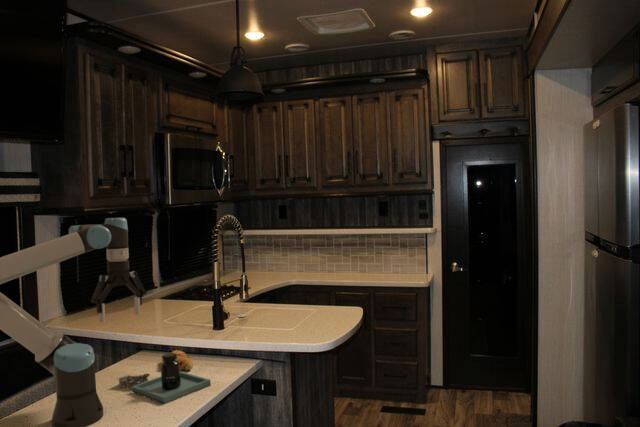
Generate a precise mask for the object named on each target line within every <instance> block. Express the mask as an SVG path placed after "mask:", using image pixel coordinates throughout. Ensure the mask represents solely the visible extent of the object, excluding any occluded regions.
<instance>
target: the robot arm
mask: <svg viewBox="0 0 640 427" xmlns="http://www.w3.org/2000/svg"><path fill="white" fill-rule="evenodd" d="M128 228H129V227H128V220H127V218H125V217H108V218H105V219H104V223H101V224H98V223H97V224H79V225H71V226H70V227H69V228H68V234H66V235H62V236H59V237H56V238H54V239H50V240H48V241H45V242H42V243H38V244H36V245H33V246H31V247H27V248H23V249H21V250H18V251H15V252H13V253H9V254H7V255H3V256H1V257H0V285H2V284H5V283H7V282H10V281H12V280H15V279H18V278H20V277H23V276H26V275H28V274H31V273H34V272H37V271H40V270H42V269H45V268H47V267H48V268H49V267H50V266H52V265H53V266H54V265H56V264H58V263H61V262H63V261H66V260H68V259H71V258H74V257H77V256H79V255H82V254H85V253H88V252H91V251H94V250H100V249H104V248H106V250H105V251H106V260H107V262H106V270H107V275H101V274H100V275H99V276H98V282H97V285H96V287H95V289H94V292H93V295H92V297H91V299H90V303H92V304H96V313H97V314H98V317H99V322H101V323H106V306H105V304H106V303H104V301H105V300H106V298H107V296H108V295H109V294H110V292H111V291H112V289H113V288H115V287H120V286H126V288H128V289H129V291H131V292H132V293H133V295H135V296H134V298H133V300H134V301H133V302H134V303H133V304H134V315H137V316H141V314H142V313H141V306H143V305H142V304H143V298H144V295H147V291H146V289H145V287H144V285H143V283H142V282H141V280H140V278H139V273H138V271H135V270H131V271H130V260H129V258H130V257H129V256H130V254H129V229H128ZM130 278H132V280H133V283H134V284H135V285H134V284H133V283H132V282H131V280H130ZM107 281H108V282H107ZM106 282H107V284H106ZM105 284H106V286H105ZM0 330H1V332H3V333H4V334H6V335H8V336H9V337H11V339H13V340H14V341H16V342H17V343H19V344H20V346H21V345H22V346H23V347H24V348H25V349H26V350H28V351H30V352H31V353H32V354H34V360H35V362H36V363H37V364H39V365H40V366H41V367H43V368H44V369H46V370H47V371H48V372H50V373H51V374H52V376H53V377H54V380H55V393H56V401H55V402H56V403H55V404H54V409H53V412H52V416H51V426H52V427H86V426H90V425H92V424H95V423H96V422H98V421H100V420H101V419H102V418H103V417H104V415H105V413H104V407H103V404H102V401H101V399H100V397H99V396H98V393H97V382H96V379H97V378H96V367H95V359H96V358H95V357H96V356H95V353H94V348H93V347H92V346H91V345H89V344H87V343H80V342H79V343H78V342H76V341H74V340H72V339H71V338H69V337H68V336H66V335H65V334H64V333H63V332H57V333H56V332H55V333H54V332H53V331H52V330H51V329H50V328H48V327H47V326H46V325H44V324H43V323H41V322H40V321H39V320H37V319H36V318H35V316H32V315H31V314H30V313H28V312H27V311H26V310H25V309H23V308H22V307H21V306H19V305H18V304H17V303H15V302H14V301H13V300H11V299H10V298H9V297H8V296H6V295H5V294H3V293H2V292H1V291H0Z"/></svg>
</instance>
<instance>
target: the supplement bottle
mask: <svg viewBox="0 0 640 427" xmlns="http://www.w3.org/2000/svg"><path fill="white" fill-rule="evenodd" d="M162 356H163V361H164V362H162V363H161V365H160V374H161V376H160V377H161V381H162V388H163V389H165V390H172V389H176V388H178V387H180V385H181V376H180V371H181V370H180V363H179V361H177V354H176V353H171V352H169V353H165V354H163V355H162Z"/></svg>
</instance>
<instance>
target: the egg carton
mask: <svg viewBox="0 0 640 427" xmlns="http://www.w3.org/2000/svg"><path fill="white" fill-rule="evenodd" d="M149 376H150V373H143V374H140V375H137V374H136V375H130V374H128V375H124V376H121V377H119V378H117V380H118V382H119V385H120V386H119V388H120V387H123V386H127V387H126V389H128V388H129V389H131V388H130V387H132V386H135V385H138V384H141V383H144V382H147V381H149ZM123 388H124V387H123Z"/></svg>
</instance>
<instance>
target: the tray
mask: <svg viewBox="0 0 640 427" xmlns="http://www.w3.org/2000/svg"><path fill="white" fill-rule="evenodd" d="M180 376H181V385H180V387H178V388H176V389H172V390H165V389H163V388H162V381H161V376H159V377H155V378H152V379H150V380H149V379H148V381H147V382H144V383H141V384H138V385H135V386H132V388H131V391H132V392H134V393H133V394H135V393H136V394H135V395H138V394H139V395H138V396H141V395H142V396H141V397H143V396H145V397H144V398H146V397H147V399H149V398H150V400H152V399H153V400H152V401H155V400H156V401H155V402H158V403H160V402H161V404H163V405H166V404H168V403H171V402H174V401H175V400H178V398H179V399H181V398H183V396H184V397H185V396H188V394H189V395H190V393H191V394H193V393H196V392H199V391H201V390H204V389H206V388H208V387H211V386H212V384H211V379H210V378H205V377H202V376H199V375H195V374H191V373H187V372H184V371H182V370H180Z"/></svg>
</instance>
